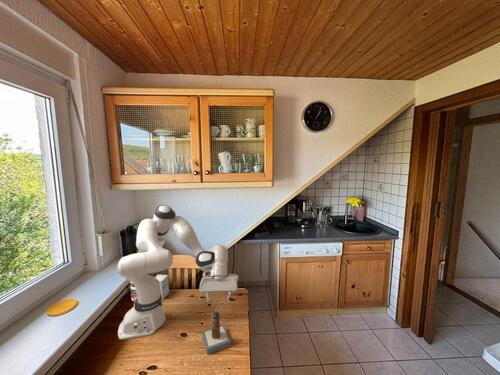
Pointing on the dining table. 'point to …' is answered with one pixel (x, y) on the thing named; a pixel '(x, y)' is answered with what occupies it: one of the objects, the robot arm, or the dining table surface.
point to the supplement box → (163, 285)
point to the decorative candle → (133, 291)
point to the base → (216, 340)
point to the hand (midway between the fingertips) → (218, 301)
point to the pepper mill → (215, 325)
